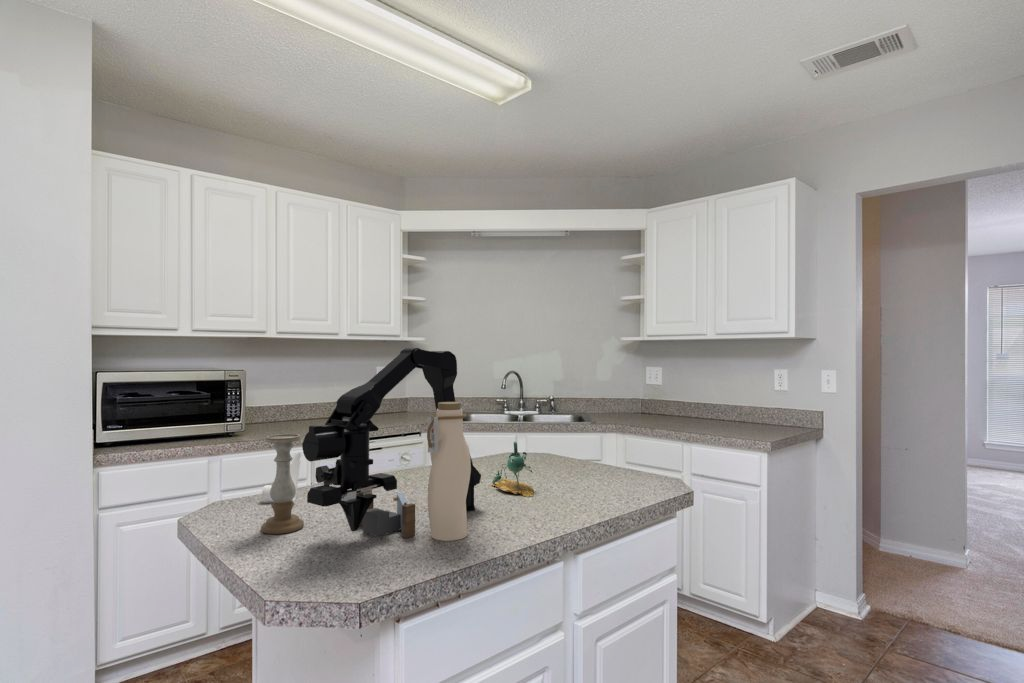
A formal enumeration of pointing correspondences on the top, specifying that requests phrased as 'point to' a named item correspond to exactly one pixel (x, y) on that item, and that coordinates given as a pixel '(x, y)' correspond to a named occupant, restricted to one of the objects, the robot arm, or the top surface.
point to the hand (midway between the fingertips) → (354, 530)
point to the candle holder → (282, 488)
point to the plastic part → (294, 475)
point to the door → (400, 505)
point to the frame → (404, 519)
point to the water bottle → (448, 472)
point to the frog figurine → (515, 466)
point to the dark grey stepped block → (381, 521)
